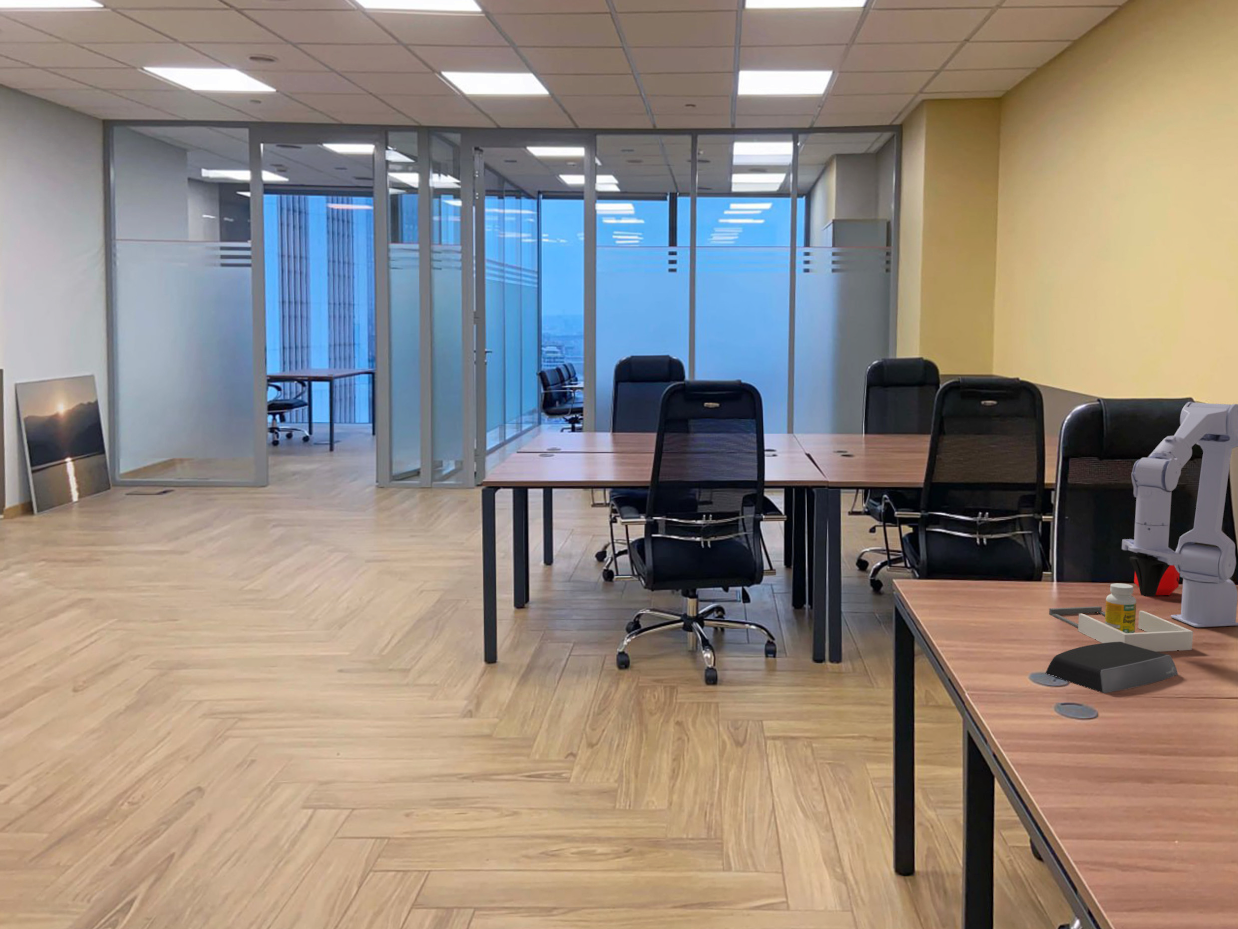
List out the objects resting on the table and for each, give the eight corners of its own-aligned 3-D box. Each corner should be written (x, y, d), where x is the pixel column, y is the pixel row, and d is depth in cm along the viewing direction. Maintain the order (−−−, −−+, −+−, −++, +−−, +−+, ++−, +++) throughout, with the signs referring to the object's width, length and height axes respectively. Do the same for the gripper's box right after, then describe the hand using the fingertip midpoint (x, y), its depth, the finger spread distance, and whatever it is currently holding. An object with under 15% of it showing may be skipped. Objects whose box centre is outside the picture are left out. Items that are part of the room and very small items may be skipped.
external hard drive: (1182, 678, 186) (1183, 655, 186) (1106, 697, 177) (1108, 672, 177) (1115, 658, 198) (1116, 636, 197) (1041, 675, 189) (1042, 652, 188)
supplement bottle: (1114, 628, 215) (1117, 580, 214) (1140, 635, 211) (1143, 586, 210) (1098, 632, 212) (1100, 584, 211) (1124, 639, 208) (1126, 590, 207)
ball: (1182, 598, 239) (1184, 563, 238) (1145, 598, 239) (1148, 563, 238) (1165, 589, 247) (1167, 556, 246) (1129, 589, 247) (1131, 556, 246)
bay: (1141, 628, 215) (1142, 610, 215) (1191, 649, 201) (1193, 631, 201) (1078, 631, 213) (1078, 613, 213) (1123, 653, 199) (1124, 634, 198)
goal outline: (1099, 611, 228) (1099, 606, 227) (1129, 625, 217) (1129, 619, 217) (1049, 614, 226) (1049, 608, 226) (1077, 627, 216) (1077, 621, 216)
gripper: (1108, 517, 207) (1105, 587, 209) (1157, 531, 193) (1152, 606, 195) (1142, 516, 208) (1138, 585, 210) (1193, 529, 194) (1188, 604, 196)
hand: (1147, 595), depth 202 cm, fingers closed
